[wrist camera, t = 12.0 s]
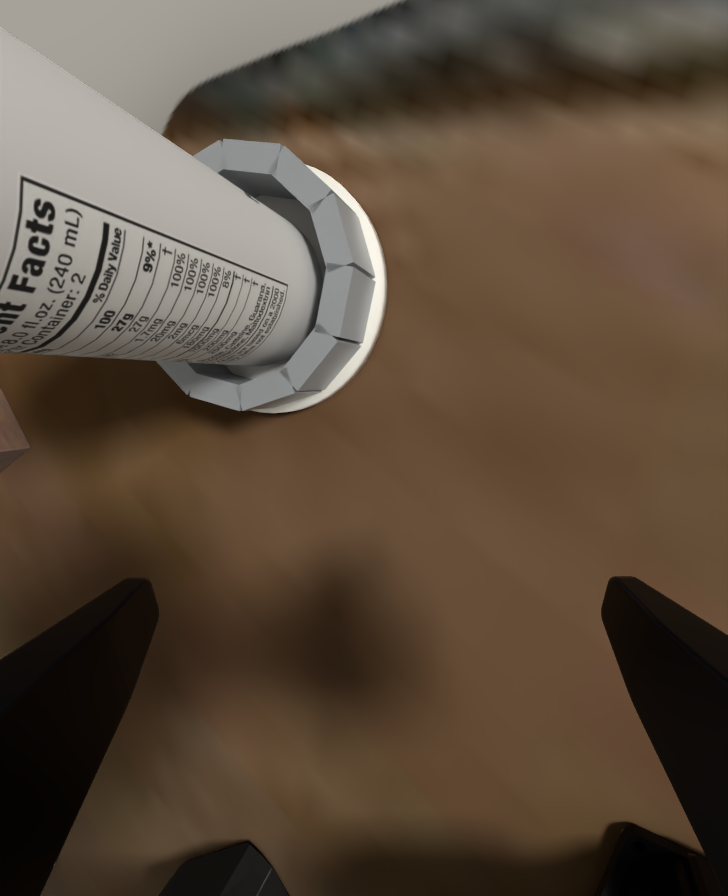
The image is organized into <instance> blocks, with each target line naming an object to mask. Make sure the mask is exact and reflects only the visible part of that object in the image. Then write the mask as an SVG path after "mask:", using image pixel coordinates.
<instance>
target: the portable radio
mask: <svg viewBox="0 0 728 896" xmlns="http://www.w3.org/2000/svg"><path fill="white" fill-rule="evenodd" d="M159 896H289V895H288V894H287V892H286V890H285V888H284V887H283V885H282V883H281V881H280V880H279V878H278V876H277V874H276V873H275V871H274V869H273V868H272V867H271V866H270V865H269V863H268V862H267V861H266V860H265V859H264V857H263V856H262V855H261V854H260V853H258V852H257V851H256V850H255V849H254V848H253V847H252V846H251V845H250V844H249V843H248V842H247V843H244V844H241V845H237V846H234V847H231V848H228V849H224V850H221V851H218V852H215V853H212V854H208V855H205V856H202V857H199V858H195V859H192V860H189V861H186V862H185V863H183V864H182V865H181V866H180V867H179V868H178V870H177V871H176V872H175V874H174V875H173V876H172V878H171V879H170V881H169V882H168V883H167V885H166V886H165V888H164V889H163V890H162V892H161V893H160V895H159Z"/></svg>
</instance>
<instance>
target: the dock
mask: <svg viewBox="0 0 728 896" xmlns="http://www.w3.org/2000/svg"><path fill="white" fill-rule="evenodd" d="M193 157H194V158H195V159H197V160H198V161H200V162H201V163H203V164H204V165H206V166H207V167H209V168H210V169H212V170H213V171H215V172H216V173H218V174H219V175H221V176H222V177H224V178H225V179H227V180H228V181H230V182H231V183H233V184H234V185H235V186H237V187H238V188H240V189H241V190H243V191H244V192H246V193H247V194H249V195H250V196H252V197H253V198H255V199H256V200H258V201H259V202H261V203H262V204H264V205H265V206H267V207H268V208H270V209H271V210H273V211H274V212H276V213H277V214H278V215H280V216H281V217H283V218H284V219H286V220H287V221H289V222H290V223H292V224H293V225H295V226H296V227H297V228H298V229H299V230H300V231H301V232H302V233H303V234H304V235H305V236H306V237H307V239H308V240H309V242H310V244H311V245H312V247H313V249H314V250H315V253H316V255H317V258H318V261H319V264H320V267H321V273H322V279H323V289H322V294H321V300H320V305H319V310H318V316H317V321H316V324H315V327H314V328H313V330H312V332H311V333H310V334H309V336H308V337H307V338H306V340H305V341H304V342H303V343H302V345H301V346H300V347H299V349H298V350H297V351H296V352H294V353H293V354H292V355H290V356H289V357H288V358H286V359H284V360H282V361H280V362H278V363H275V364H271V365H266V366H242V365H223V364H205V363H187V362H168V361H156V362H157V363H158V364H159V365H160V366H161V367H162V368H163V370H164V371H165V372H166V373H167V374H168V375H169V376H170V377H171V378H172V379H173V380H174V381H175V383H176V384H177V385H178V386H179V387H180V388H181V389H182V390H183V391H184V392H185V393H186V395H190V397H193V398H196V399H199V400H203V401H206V402H210V403H213V404H217V405H220V406H224V407H227V408H230V409H234V410H237V411H246V410H252V411H256V412H263V413H281V412H291V411H297V410H301V409H305V408H309V407H312V406H314V405H317V404H319V403H322V402H323V401H325V400H327V399H329V398H330V397H332V396H334V395H335V394H336V393H338V392H339V391H340V390H341V389H343V388H344V387H345V386H346V385H347V384H348V383H349V382H350V381H351V380H352V379H353V378H354V377H355V376H356V375H357V374H358V372H359V371H360V370H361V368H362V367H363V366H364V364H365V363H366V361H367V359H368V358H369V356H370V354H371V352H372V351H373V349H374V346H375V344H376V342H377V339H378V337H379V334H380V331H381V328H382V324H383V321H384V317H385V311H386V304H387V288H388V281H387V270H386V263H385V258H384V253H383V249H382V246H381V243H380V240H379V237H378V235H377V232H376V230H375V228H374V226H373V224H372V222H371V220H370V218H369V217H368V216H367V214H366V213H365V211H364V210H363V208H362V207H361V206H360V204H359V203H358V202H357V201H356V200H355V199H354V198H353V197H352V196H351V195H350V194H349V193H348V192H347V191H346V189H345V188H344V187H343V186H342V185H340V184H339V183H338V182H337V181H335V180H334V179H333V178H331V177H330V176H329V175H327V174H325V173H323V172H321V171H320V170H318V169H316V168H313V167H311V166H308V165H305V164H304V163H303V162H302V161H300V160H299V159H298V158H297V157H296V156H295V155H294V154H293V153H292V152H291V151H290V150H289V149H287V148H286V147H285V146H284V147H283V146H282V145H281V144H277V143H265V142H254V141H242V140H231V139H223V142H222V141H220V140H218V141H217V142H215V143H214V144H212V145H210V146H209V147H207V148H205V149H204V150H202V151H201V152H199V153H197V154H196V155H194V156H193Z"/></svg>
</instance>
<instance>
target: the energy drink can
mask: <svg viewBox="0 0 728 896" xmlns="http://www.w3.org/2000/svg"><path fill="white" fill-rule="evenodd" d="M322 289H323V279H322V273H321V267H320V264H319V261H318V258H317V255H316V253H315V250H314V249H313V247H312V245H311V244H310V242H309V240H308V239H307V237H306V236H305V235H304V234H303V233H302V232H301V231H300V230H299V229H298V228H297V227H296V226H295V225H293V224H292V223H290V222H289V221H287V220H286V219H284V218H283V217H281V216H280V215H278V214H277V213H276V212H274V211H273V210H271V209H270V208H268V207H267V206H265V205H264V204H262V203H261V202H259V201H258V200H256V199H255V198H253V197H252V196H250V195H249V194H247V193H246V192H244V191H243V190H241V189H240V188H238V187H237V186H235V185H234V184H233V183H231V182H230V181H228V180H227V179H225V178H224V177H222V176H221V175H219V174H218V173H216V172H215V171H213V170H212V169H210V168H209V167H207V166H206V165H204V164H203V163H201V162H200V161H198V160H197V159H195V158H194V157H192V156H191V155H190V154H188V153H187V152H185V151H184V150H182V149H181V148H179V147H178V146H176V145H175V144H173V143H172V142H170V141H169V140H167V139H166V138H164V137H163V136H161V135H160V134H158V133H157V132H155V131H154V130H152V129H151V128H149V127H148V126H146V125H145V124H144V123H142V122H141V121H139V120H138V119H136V118H135V117H133V116H132V115H130V114H129V113H127V112H126V111H124V110H123V109H121V108H120V107H118V106H117V105H115V104H114V103H112V102H111V101H109V100H108V99H106V98H105V97H104V96H102V95H100V94H99V93H98V92H96V91H95V90H93V89H92V88H90V87H89V86H87V85H86V84H84V83H83V82H81V81H80V80H78V79H77V78H75V77H74V76H72V75H71V74H69V73H68V72H66V71H65V70H63V69H62V68H61V67H59V66H58V65H56V64H54V63H53V62H51V61H50V60H49V59H47V58H46V57H44V56H43V55H41V54H40V53H38V52H37V51H35V50H34V49H32V48H31V47H29V46H28V45H26V44H25V43H23V42H22V41H20V40H19V39H18V38H16V37H15V36H13V35H12V34H10V33H9V32H7V31H6V30H4V29H3V28H1V27H0V352H4V353H22V354H40V355H59V356H77V357H95V358H114V359H132V360H150V361H168V362H187V363H205V364H223V365H242V366H266V365H271V364H275V363H278V362H280V361H282V360H284V359H286V358H288V357H289V356H290V355H292V354H293V353H294V352H296V351H297V350H298V349H299V347H300V346H301V345H302V343H303V342H304V341H305V340H306V338H307V337H308V336H309V334H310V333H311V332H312V330H313V328H314V327H315V324H316V321H317V316H318V310H319V305H320V300H321V294H322Z"/></svg>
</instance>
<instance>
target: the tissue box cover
mask: <svg viewBox="0 0 728 896" xmlns="http://www.w3.org/2000/svg"><path fill="white" fill-rule="evenodd" d="M29 449H30V446H29V444H28V442H27V440H26V438H25V436H24V434H23V432H22V430H21V428H20V426H19V424H18V422H17V420H16V418H15V416H14V414H13V412H12V410H11V408H10V406H9V404H8V402H7V400H6V398H5V396H4V394H3V392H2V390H1V388H0V472H2V471H3V470H4V469H5V468H7V467H8V466H9V465H10V464H11V463H13V462H14V461H15V460H16V459H18V458H19V457H20V456H21V455H22V454H24V453H25V452H26V451H27V450H29Z"/></svg>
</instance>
